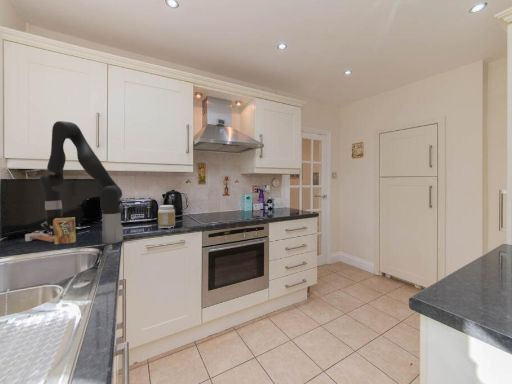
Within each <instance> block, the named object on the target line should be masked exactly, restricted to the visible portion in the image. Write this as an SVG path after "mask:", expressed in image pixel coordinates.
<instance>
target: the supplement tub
mask: <svg viewBox="0 0 512 384" xmlns="http://www.w3.org/2000/svg"><path fill="white" fill-rule="evenodd" d="M158 206H159V207H158V208H159V209H158V210H157V216H158V219H157V222H158V225H157V226H158V229H161V228H168V229H172V228H171V227H173V228H175V227H176V211H175V209H174V208H175V207H174V204H173V205H172V204H164V205H163V204H162V205H158ZM174 226H175V227H174Z"/></svg>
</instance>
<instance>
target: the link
mask: <svg viewBox="0 0 512 384" xmlns="http://www.w3.org/2000/svg"><path fill="white" fill-rule="evenodd" d="M39 233H43V231H40V232H39ZM30 234H34V232H31V233H30ZM32 239H36V240H41V241H45V242H50V243H51V242H52V243H53V242H55V239H54V236H53V235H52V234H47V233H43V235H37V236H32Z"/></svg>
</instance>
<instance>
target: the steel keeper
mask: <svg viewBox="0 0 512 384" xmlns="http://www.w3.org/2000/svg"><path fill="white" fill-rule="evenodd" d="M39 232H41V230H35V231H33V233H34V234H31V233H26V234H25V235H24V239H25V242H31V241H33V238H32V236H37V235H43V234H44V233H39Z"/></svg>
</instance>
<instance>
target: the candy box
mask: <svg viewBox="0 0 512 384" xmlns="http://www.w3.org/2000/svg"><path fill="white" fill-rule="evenodd" d="M54 239H55V241H54V245H64V244H72V243H74V244H73V246H75V245H76V242H77V235H76V217H75V216H74V217H63V218H57V219H54Z"/></svg>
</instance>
